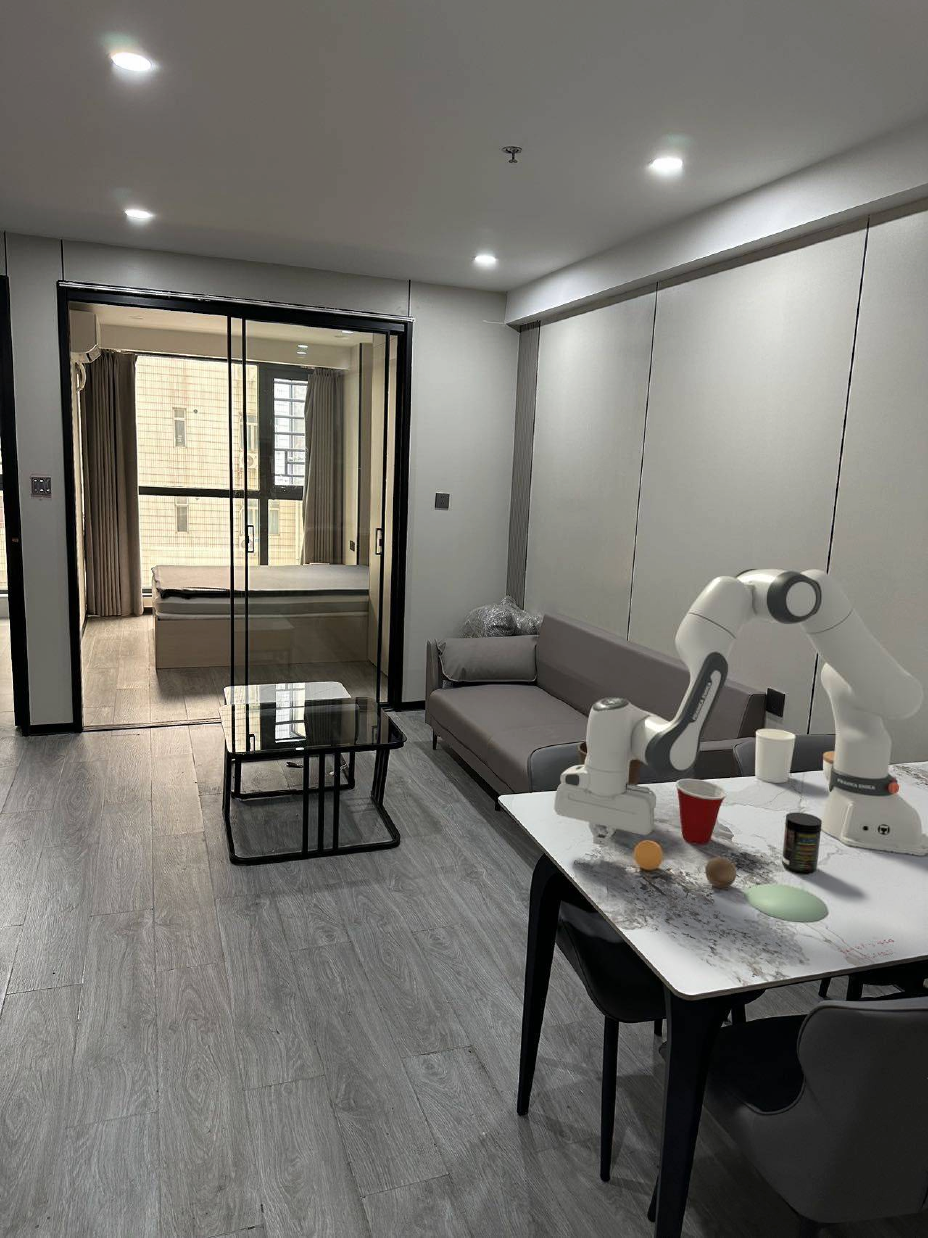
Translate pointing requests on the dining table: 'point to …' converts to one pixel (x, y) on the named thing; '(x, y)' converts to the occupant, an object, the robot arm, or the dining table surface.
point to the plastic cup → (698, 808)
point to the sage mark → (786, 902)
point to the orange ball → (648, 855)
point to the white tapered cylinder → (773, 755)
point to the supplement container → (801, 843)
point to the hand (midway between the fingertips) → (601, 844)
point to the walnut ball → (720, 872)
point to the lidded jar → (828, 763)
